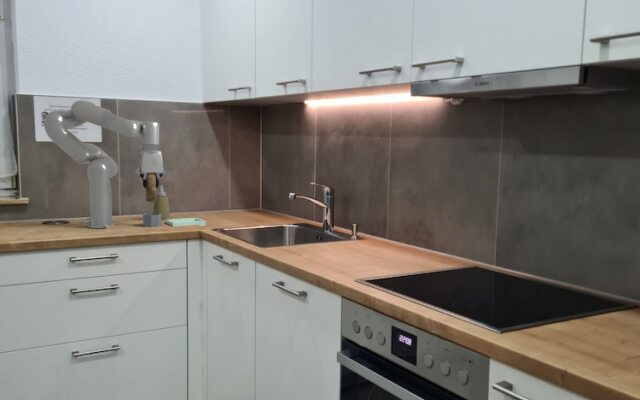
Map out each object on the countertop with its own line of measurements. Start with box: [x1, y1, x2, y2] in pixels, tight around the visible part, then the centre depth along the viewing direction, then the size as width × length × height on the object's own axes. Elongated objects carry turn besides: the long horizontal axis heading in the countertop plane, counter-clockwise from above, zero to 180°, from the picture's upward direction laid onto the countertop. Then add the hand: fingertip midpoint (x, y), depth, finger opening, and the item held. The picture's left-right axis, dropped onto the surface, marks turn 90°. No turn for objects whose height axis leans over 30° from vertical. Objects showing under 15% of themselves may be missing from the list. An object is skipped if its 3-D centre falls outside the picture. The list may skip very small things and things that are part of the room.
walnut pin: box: [145, 173, 157, 203], centre depth 269 cm, size 4×4×13 cm
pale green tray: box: [164, 217, 207, 227], centre depth 280 cm, size 16×12×2 cm
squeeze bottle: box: [152, 184, 171, 221], centre depth 291 cm, size 8×8×18 cm
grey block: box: [142, 212, 162, 228], centre depth 271 cm, size 8×8×6 cm
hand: (151, 187), depth 269 cm, fingers closed on walnut pin, 4 cm apart
